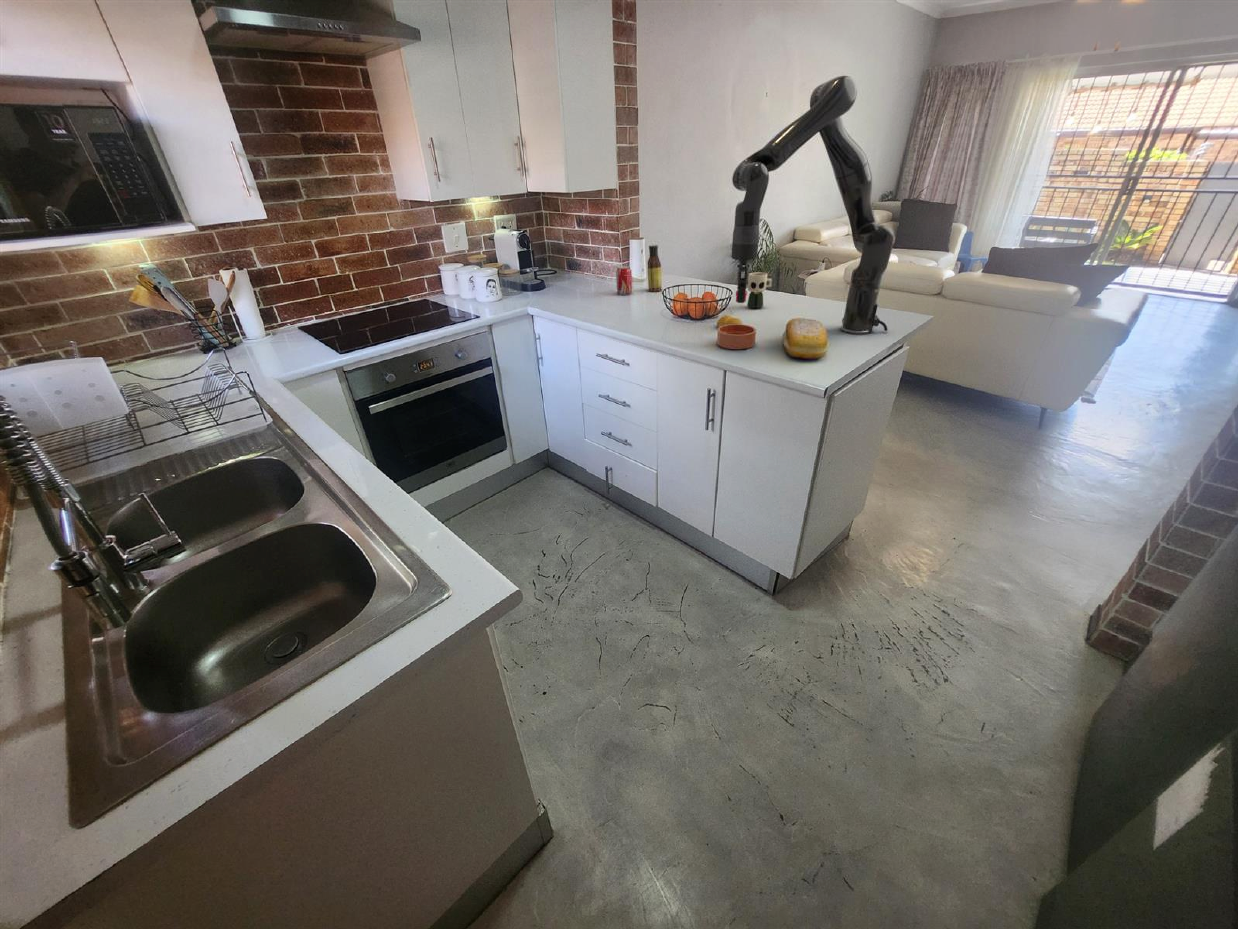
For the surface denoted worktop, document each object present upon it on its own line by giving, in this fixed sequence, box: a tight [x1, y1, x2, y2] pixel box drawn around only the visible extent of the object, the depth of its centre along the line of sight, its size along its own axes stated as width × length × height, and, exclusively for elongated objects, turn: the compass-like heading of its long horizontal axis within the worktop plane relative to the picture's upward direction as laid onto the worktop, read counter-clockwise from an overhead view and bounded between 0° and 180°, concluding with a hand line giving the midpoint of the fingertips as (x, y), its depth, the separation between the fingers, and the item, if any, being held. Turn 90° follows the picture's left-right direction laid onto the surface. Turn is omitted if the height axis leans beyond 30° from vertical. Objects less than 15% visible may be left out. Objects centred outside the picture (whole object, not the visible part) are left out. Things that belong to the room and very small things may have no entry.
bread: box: [782, 317, 829, 360], centre depth 159 cm, size 13×26×8 cm, turn 169°
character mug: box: [746, 271, 773, 309], centre depth 201 cm, size 11×7×13 cm, turn 79°
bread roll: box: [716, 315, 743, 328], centre depth 183 cm, size 8×9×4 cm
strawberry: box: [735, 289, 748, 303], centre depth 156 cm, size 3×3×4 cm
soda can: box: [615, 265, 633, 296], centre depth 232 cm, size 7×7×12 cm
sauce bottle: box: [647, 244, 663, 293], centre depth 233 cm, size 7×6×20 cm
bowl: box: [716, 323, 757, 350], centre depth 166 cm, size 12×12×5 cm
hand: (740, 300), depth 157 cm, fingers closed on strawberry, 3 cm apart
